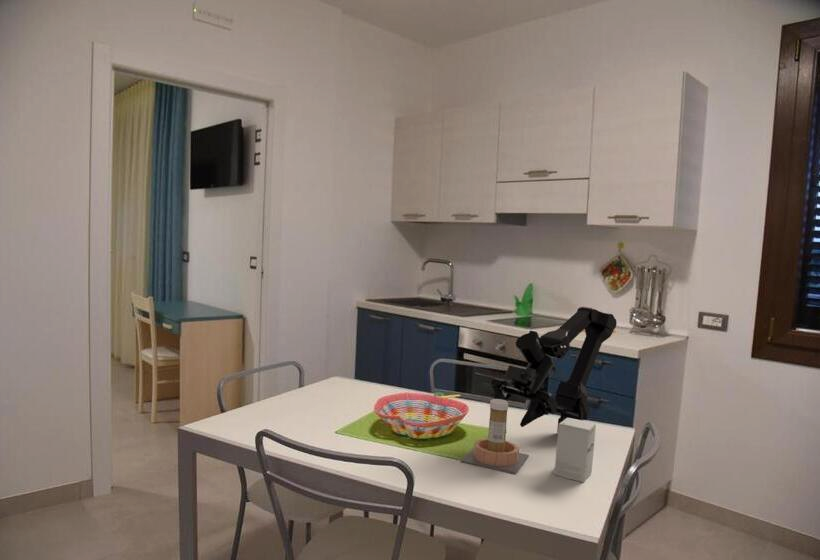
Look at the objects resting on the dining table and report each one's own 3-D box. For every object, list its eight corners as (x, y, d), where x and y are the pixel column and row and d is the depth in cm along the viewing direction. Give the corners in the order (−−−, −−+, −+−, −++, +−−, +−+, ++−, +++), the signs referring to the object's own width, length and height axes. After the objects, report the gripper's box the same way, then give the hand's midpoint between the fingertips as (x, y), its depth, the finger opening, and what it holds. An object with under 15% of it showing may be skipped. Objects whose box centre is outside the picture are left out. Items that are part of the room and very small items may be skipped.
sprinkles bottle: (506, 452, 147) (510, 400, 147) (502, 457, 143) (506, 404, 143) (488, 448, 149) (493, 397, 149) (484, 453, 145) (488, 401, 144)
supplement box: (584, 483, 134) (588, 429, 133) (553, 474, 138) (557, 423, 137) (592, 473, 140) (597, 422, 140) (562, 466, 144) (566, 416, 144)
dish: (529, 456, 149) (530, 443, 149) (516, 474, 137) (517, 460, 136) (477, 445, 155) (478, 433, 155) (460, 461, 142) (461, 448, 142)
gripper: (495, 348, 157) (465, 393, 150) (554, 361, 143) (524, 412, 136) (511, 373, 163) (483, 418, 156) (569, 388, 149) (541, 438, 142)
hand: (506, 421), depth 148 cm, fingers open, 9 cm apart
